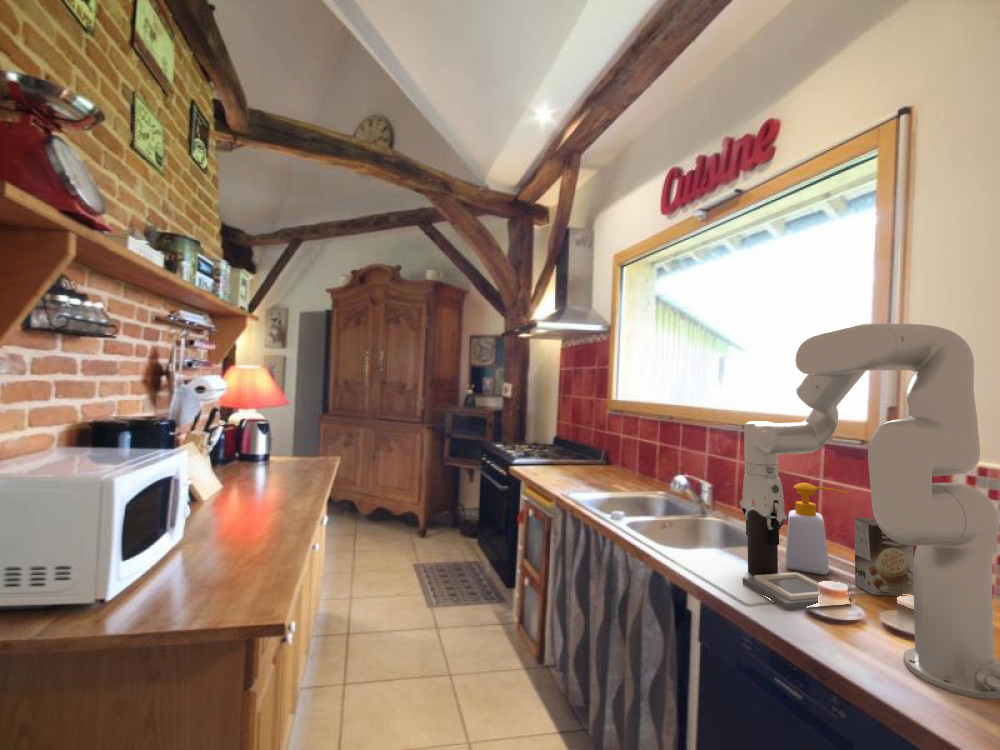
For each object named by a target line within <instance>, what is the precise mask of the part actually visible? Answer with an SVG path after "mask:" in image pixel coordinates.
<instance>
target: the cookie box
mask: <svg viewBox="0 0 1000 750" xmlns="http://www.w3.org/2000/svg"><path fill="white" fill-rule="evenodd" d="M913 564H914V546H911V545H904V544H900V543H898V542H895V541H893V540H892V539H890V538H889V537H887V536H886V535H885V534H884V533H883V532H882V530H881V529H880V528H879V526H878V524H877V522H876V520H875V518H872V517H871V518H869V517H868V518H867V517H866V518H865V517H854V584H855V585H856V586H858V587H859V588H861V589H863V590H864V591H865V592H867V593H868V594H870V595H874V596H893V597H899V596H898V595H902V594H911V595H914V579H913V573H914V570H913Z"/></svg>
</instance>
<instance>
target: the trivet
mask: <svg viewBox="0 0 1000 750" xmlns="http://www.w3.org/2000/svg"><path fill="white" fill-rule="evenodd" d="M818 582H819V581H818V580H816V579H814V578H811V577H810V576H808V575H806V574H804V573H801V572H797V571H796V572H781V573H778V574H766V575H752V576H744V577H742V585H744V586H746V587H748V588H749V589H751V591H754V592H756V593H757V592H758V593H757V594H759V593H760V594H761V596H762V595H764V596H766V597H768V598H770V599H771V600H772V601H774V604H775V603H776V604H775V605H777V606H778V607H780V608H781V607H782V608H781V609H783V608H784V609H783V610H785V611H794V610H803V609H804V608H806V607H807V606H810V605H813V604H816V603H818V596H819V592H818ZM760 594H759V595H760ZM764 596H763V597H764ZM848 597H849V600H850V602H851V603H852V597H850V596H848ZM772 601H771V602H772Z"/></svg>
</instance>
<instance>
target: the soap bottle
mask: <svg viewBox="0 0 1000 750" xmlns="http://www.w3.org/2000/svg"><path fill="white" fill-rule="evenodd" d="M792 488H794V489H796V493H797V494H798V495H801V500H798V501H795V503H794V504H795V509H792V510H790V511H789V512H788V516H787V531H786V546H785V562H784V564H785V567H787V569H790V570H795V571H801V572H807V573H811V574H817V575H828V574H829V572H830V565H829V555H828V549H827V548H828V547H827V538H826V537H827V536H826V527H825V521H824V516H823V515H822V514H821V513H819V512H817V505H816V503H814V502H810V496H814V495H815V491H817V490H827V491H834V492H837V493H842V494H846V495H847V494H848V492H847V491H844V490H841V489H837V488H836V489H835V488H830V487H821V486H815V485H813V484H811V483H807V482H799V483H796V484H795V485H794V486H792Z"/></svg>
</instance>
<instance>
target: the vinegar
mask: <svg viewBox="0 0 1000 750" xmlns="http://www.w3.org/2000/svg"><path fill="white" fill-rule="evenodd" d="M753 501H754V499H753ZM753 501H752V504H755V502H753ZM753 506H755V505H753ZM771 516H773V515H772V514H771ZM771 522H772V523H773V522H774V519H771ZM766 529H768V526H767V523H766V519H765V517H763V516H761V515H760V514H759V513H758V512H757V511H755V510H750V511H749V512H748V513H747V535H746V537H747V541H746V542H747V571H748V573H749V574H750V575H752V576H754V575H766V574H779V555H778V554H779V552H778V551H779V550H778V548H779V547H778V546H779V545H767V544H766Z"/></svg>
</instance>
